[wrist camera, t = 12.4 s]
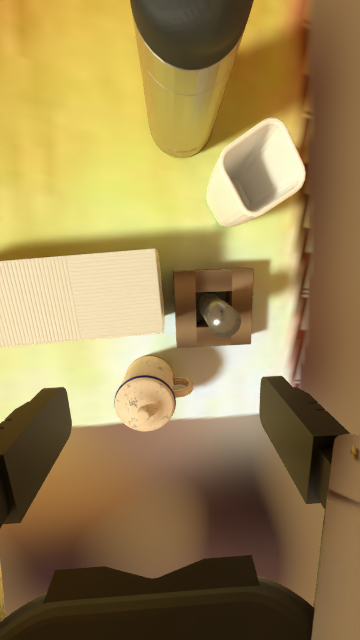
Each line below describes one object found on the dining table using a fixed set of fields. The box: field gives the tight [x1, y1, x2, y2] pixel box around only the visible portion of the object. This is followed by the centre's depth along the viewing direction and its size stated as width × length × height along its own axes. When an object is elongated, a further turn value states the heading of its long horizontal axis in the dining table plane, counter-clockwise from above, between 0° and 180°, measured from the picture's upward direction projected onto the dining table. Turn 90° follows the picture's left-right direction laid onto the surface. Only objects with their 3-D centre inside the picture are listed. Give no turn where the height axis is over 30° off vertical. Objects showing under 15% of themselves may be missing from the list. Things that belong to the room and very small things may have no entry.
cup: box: [207, 118, 306, 227], centre depth 31 cm, size 7×7×15 cm
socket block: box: [173, 268, 253, 348], centre depth 40 cm, size 12×12×4 cm
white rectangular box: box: [0, 248, 165, 348], centre depth 35 cm, size 32×11×11 cm, turn 95°
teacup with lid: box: [114, 356, 193, 431], centre depth 39 cm, size 12×9×12 cm
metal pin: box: [198, 294, 241, 338], centre depth 36 cm, size 4×4×12 cm
